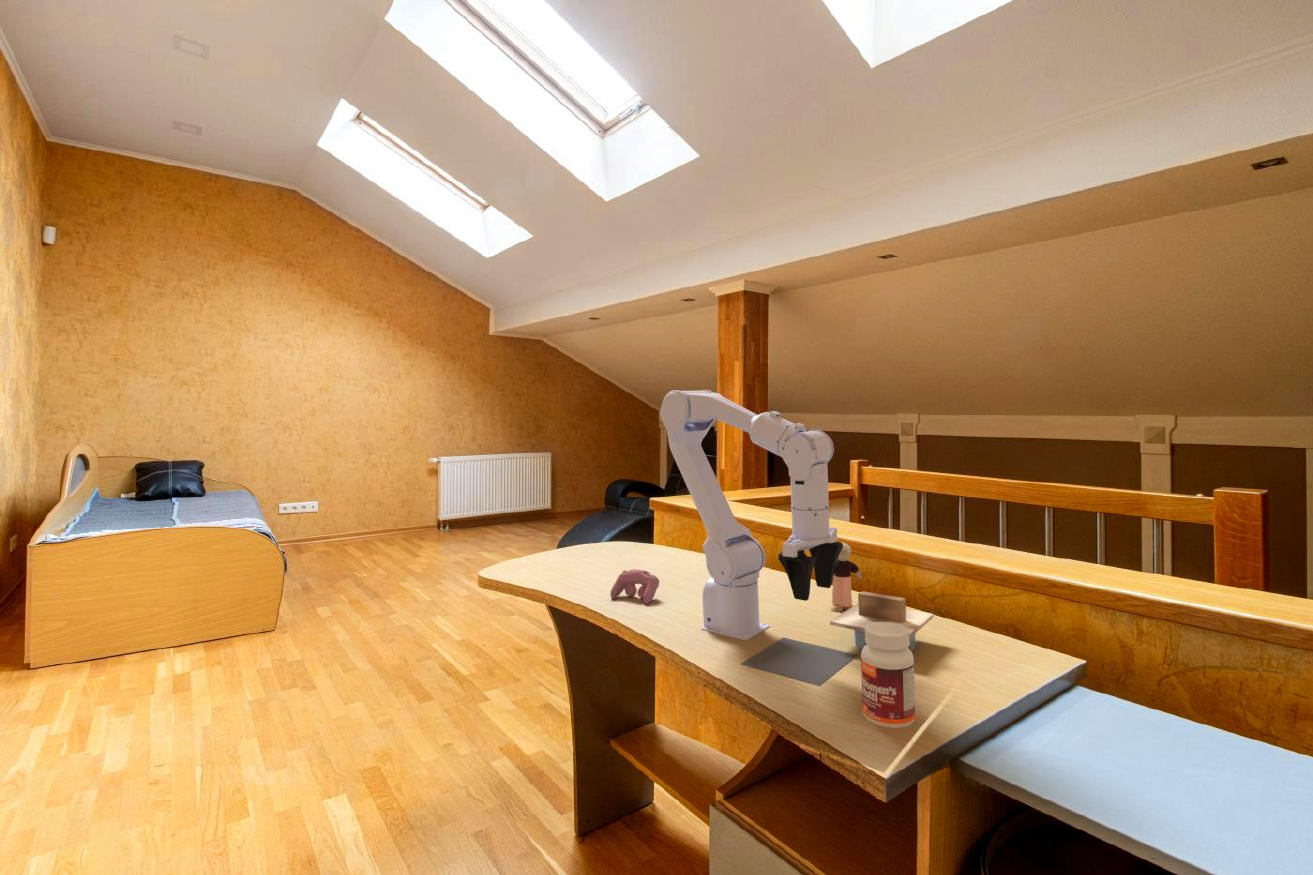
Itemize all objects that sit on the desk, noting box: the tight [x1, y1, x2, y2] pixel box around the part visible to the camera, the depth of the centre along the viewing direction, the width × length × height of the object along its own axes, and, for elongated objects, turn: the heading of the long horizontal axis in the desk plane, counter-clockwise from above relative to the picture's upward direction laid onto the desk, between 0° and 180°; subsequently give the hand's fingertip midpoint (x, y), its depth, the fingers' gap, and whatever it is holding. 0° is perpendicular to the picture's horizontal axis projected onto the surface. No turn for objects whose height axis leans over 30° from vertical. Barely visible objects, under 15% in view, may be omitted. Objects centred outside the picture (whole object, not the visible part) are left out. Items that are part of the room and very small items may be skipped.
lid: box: [829, 590, 934, 639], centre depth 100 cm, size 12×12×4 cm
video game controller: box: [610, 569, 660, 605], centre depth 132 cm, size 10×5×7 cm, turn 58°
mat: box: [740, 637, 859, 687], centre depth 95 cm, size 13×13×1 cm
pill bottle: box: [860, 622, 916, 729], centre depth 77 cm, size 6×6×11 cm
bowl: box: [853, 630, 917, 653], centre depth 100 cm, size 9×9×4 cm
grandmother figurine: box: [830, 541, 862, 612], centre depth 119 cm, size 8×4×13 cm, turn 112°
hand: (812, 592), depth 99 cm, fingers open, 7 cm apart
